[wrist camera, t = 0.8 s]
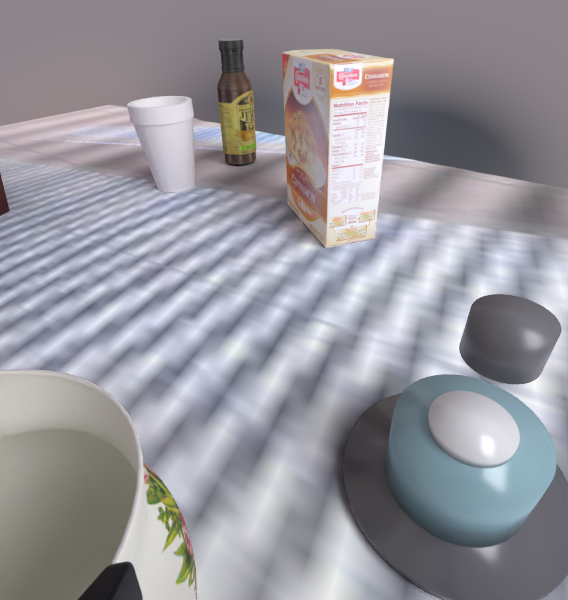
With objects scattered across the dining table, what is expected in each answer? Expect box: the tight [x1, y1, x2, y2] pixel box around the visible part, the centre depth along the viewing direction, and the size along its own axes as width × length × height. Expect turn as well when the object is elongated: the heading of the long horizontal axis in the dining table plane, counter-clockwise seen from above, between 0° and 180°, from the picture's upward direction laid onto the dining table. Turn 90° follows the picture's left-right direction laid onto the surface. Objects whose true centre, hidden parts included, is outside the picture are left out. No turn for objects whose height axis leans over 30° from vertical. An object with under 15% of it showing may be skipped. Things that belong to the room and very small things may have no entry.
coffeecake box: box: [282, 49, 394, 248], centre depth 49 cm, size 15×7×20 cm, turn 18°
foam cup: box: [127, 96, 195, 192], centre depth 64 cm, size 10×9×13 cm
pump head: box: [459, 294, 561, 384], centre depth 18 cm, size 3×3×3 cm
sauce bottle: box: [218, 39, 256, 165], centre depth 71 cm, size 6×6×20 cm
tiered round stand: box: [343, 375, 568, 600], centre depth 23 cm, size 13×13×6 cm
